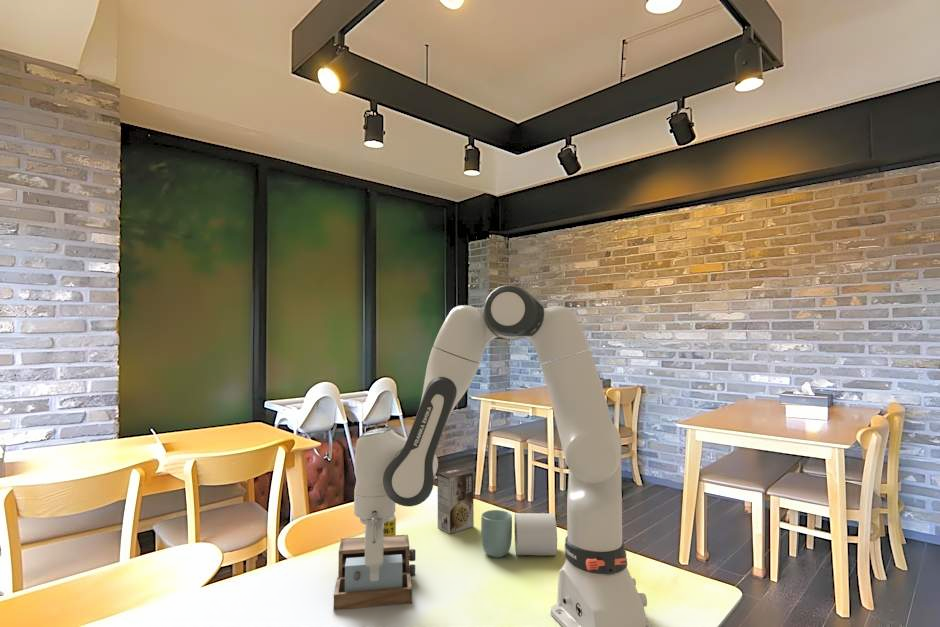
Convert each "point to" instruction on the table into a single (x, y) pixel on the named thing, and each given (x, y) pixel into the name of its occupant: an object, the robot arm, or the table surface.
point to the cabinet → (380, 596)
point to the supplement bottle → (390, 526)
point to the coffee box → (455, 500)
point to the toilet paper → (535, 534)
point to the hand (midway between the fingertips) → (374, 569)
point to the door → (360, 574)
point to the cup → (496, 532)
